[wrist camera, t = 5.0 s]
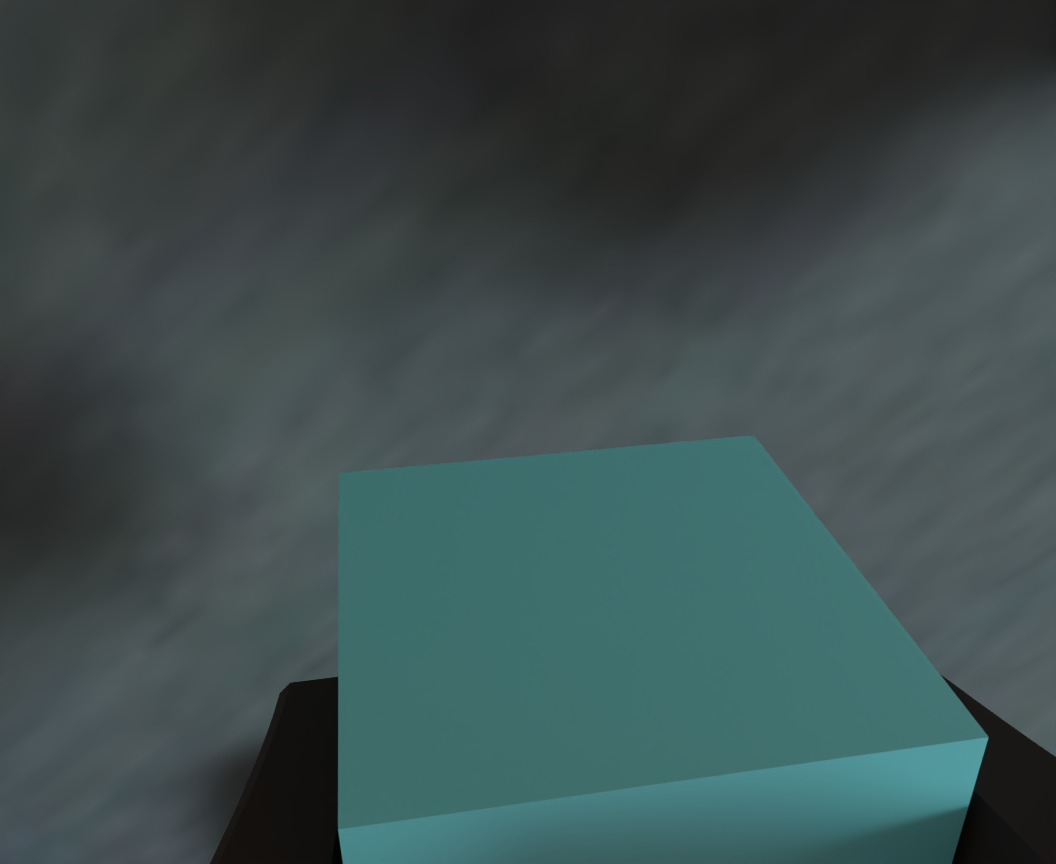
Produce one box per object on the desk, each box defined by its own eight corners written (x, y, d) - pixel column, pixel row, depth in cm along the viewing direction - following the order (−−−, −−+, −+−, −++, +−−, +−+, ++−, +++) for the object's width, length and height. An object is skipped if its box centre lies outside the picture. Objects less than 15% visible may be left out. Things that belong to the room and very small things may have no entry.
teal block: (753, 435, 11) (988, 737, 7) (719, 735, 13) (883, 1095, 9) (338, 473, 10) (339, 830, 6) (374, 781, 12) (390, 1192, 8)
